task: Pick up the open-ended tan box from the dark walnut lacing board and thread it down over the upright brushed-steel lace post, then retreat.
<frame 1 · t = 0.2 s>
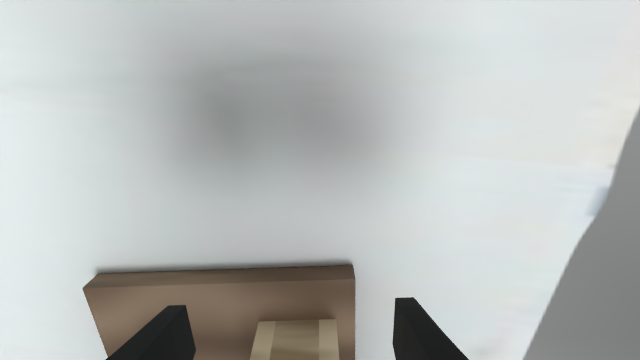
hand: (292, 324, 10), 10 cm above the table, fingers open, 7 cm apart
open-ended tan box: (299, 349, 22), point 1 cm above the table, touching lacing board
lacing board: (236, 334, 23), on the table
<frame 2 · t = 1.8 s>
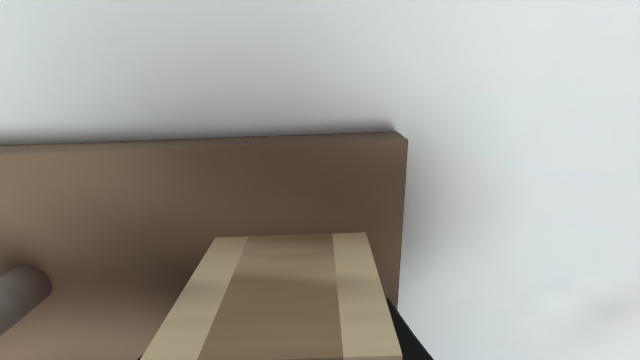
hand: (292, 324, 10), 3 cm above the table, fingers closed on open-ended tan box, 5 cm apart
open-ended tan box: (295, 296, 12), point 1 cm above the table, touching gripper, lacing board
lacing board: (183, 275, 13), on the table
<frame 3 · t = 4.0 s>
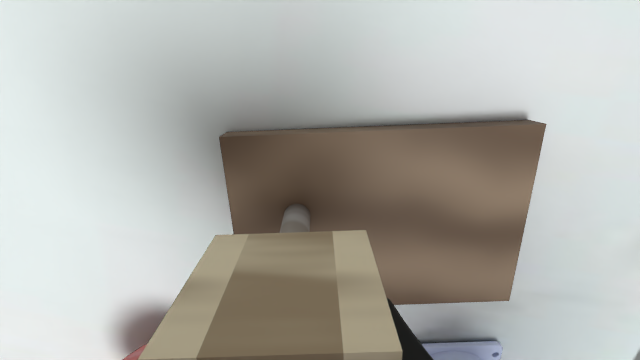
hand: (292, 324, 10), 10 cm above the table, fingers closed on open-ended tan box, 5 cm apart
open-ended tan box: (295, 293, 12), point 9 cm above the table, touching gripper
apple: (181, 349, 24), on the table
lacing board: (374, 216, 20), on the table
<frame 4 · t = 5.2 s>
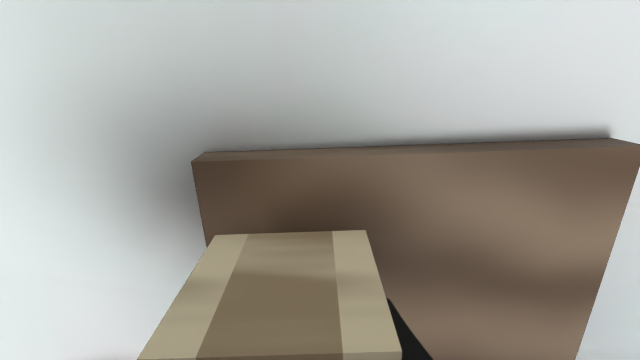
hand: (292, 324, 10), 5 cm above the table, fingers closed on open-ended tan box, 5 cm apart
open-ended tan box: (295, 293, 12), point 4 cm above the table, touching gripper
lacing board: (399, 260, 15), on the table
when the fingers open (4 cm above the table, at t = 6.1 s): open-ended tan box stays where it is, resting on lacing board.
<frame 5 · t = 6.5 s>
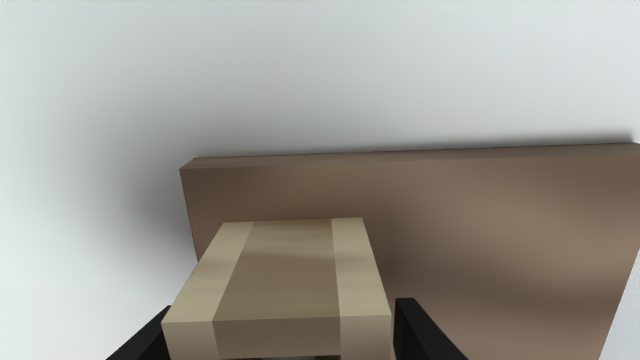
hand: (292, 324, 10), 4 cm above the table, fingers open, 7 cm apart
open-ended tan box: (297, 277, 13), point 1 cm above the table, touching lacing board
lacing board: (405, 273, 14), on the table
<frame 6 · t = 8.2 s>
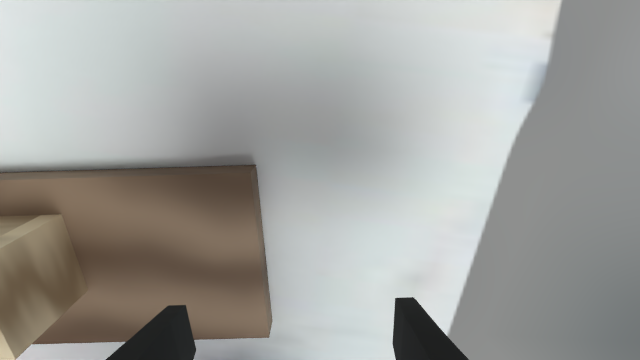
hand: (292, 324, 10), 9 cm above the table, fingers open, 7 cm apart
open-ended tan box: (31, 255, 19), point 1 cm above the table, touching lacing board
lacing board: (131, 254, 20), on the table
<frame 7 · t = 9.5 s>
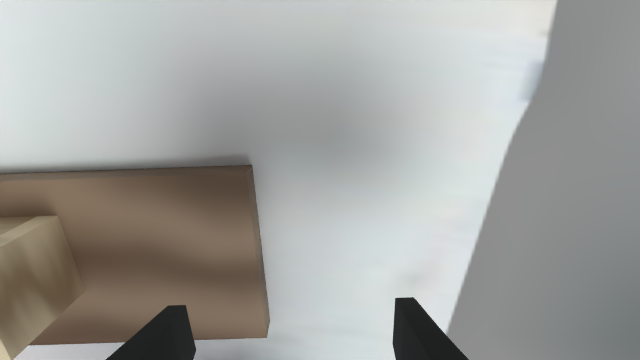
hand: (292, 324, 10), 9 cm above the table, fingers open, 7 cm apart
open-ended tan box: (28, 256, 19), point 1 cm above the table, touching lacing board
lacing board: (128, 255, 20), on the table
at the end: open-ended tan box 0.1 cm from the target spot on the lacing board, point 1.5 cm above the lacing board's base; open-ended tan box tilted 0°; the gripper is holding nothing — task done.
